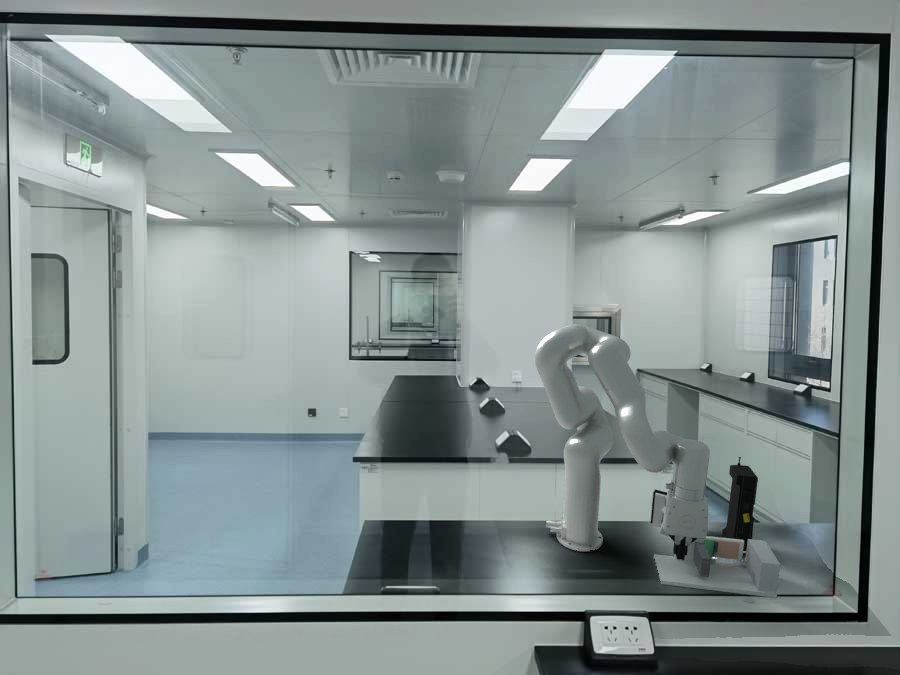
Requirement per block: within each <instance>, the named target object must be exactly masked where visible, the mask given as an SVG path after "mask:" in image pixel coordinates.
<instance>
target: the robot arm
mask: <svg viewBox="0 0 900 675" xmlns="http://www.w3.org/2000/svg"><path fill="white" fill-rule="evenodd" d="M629 346H630V345H628V343H627V342H626V341H625V340H624V339H622V338H621V337H618V336H616V335H613V334H610V333H607V332H604V331H601V330H599V329H596V328H592V327H590V326H587V325H583V324H579V323H574V324H569V325H566V326H563V327H561V328H558V329H556V330H553V331H551V332H550V333H548V334H547V335H546V336H544V338H543V339H541V340H540V342H539V343H538V345H537V348H536V350H535V354H534V363H535V367H536V370H537V372H538V375H539V377H540V379H541V382H542V384H543V387H544V390H545V393H546V395H547V396H546V397H547V399H548V401H549V404H550V405H551V406H550V407H551V408H552V409H551V410H552V411H553V414H554V417H555V419H556V422H557V423H558V424H559V425H560V426H561V427H562V428H563V429H566V430H575V429H577V431H576V432H575V433H573V434H572V435H571V436H570V437H569V439H567V441H566V443H565V445H564V449H563V461H564V491H563V492H564V496H563V508H562V509H563V511H562V513H563V514H562V515H563V516H561V520H557V521H553V520H548V519H547V520H546V522H545V523H546V525H545V528H550V533H556V538H557V541H558V542H559V544H560V545H563V546H564V547H565V548H567V549H569V550H572V551H576V550H577V551H576V552H591V551H590V550H593V551H596V550H598V549H599V548H600V547H602V545H603V543H604V541H603V540H604V538H603V535H602V533H601V532H600V531H599V530H598V528H599V515H600V514H599V513H600V501H601V483H602V482H601V481H602V477H601V476H602V475H601V469H600V468H601V467H600V463H601V461H602V460H603V458H604V457H605V456H606V455H607V454H608V453H609V451H610V450H611V449H612V447H613V445H614V436H613V435H614V434H613V432H612V429H611V426H610V423H609V421H608V419H607V416H606V414H605V411H604V407H603V404H602V403H601V400H600V398H599V396H598V395H597V394H596V393H595V392H594V391H593V390H592V389H591V388H589V387H586V386H583V385H581V386H579V385H578V384H577V381H576V377H575V375H574V373H573V372H572V370H571V369H570V368H569V366H568V364H567V363H568V361H569V360H571V359H573V358H574V357H577V356H581V357H584V358H587V363H588V364H589V367H590V368H591V370H592V372H593V373H594V375H595V377H596V379H597V380H598V382H599V384H600V386H601V387H602V389H603V390H604V392H605V394H606V396H607V397H608V399H609V400H610V403H611V404H612V406H613V409H614V413H615V417H616V421H617V424H618V428H619V431H620V434H621V436H622V439H623V441H624V444H625V445H626V447H627V449H628V450H629V452H630V454H631V455H632V457H633V458H634V460H635V461H636V463H637V464H638V465H639V466H640V468H642V469H643V470H645V471H647V472H650V473H660V472H662V471H663V472H664V470H665V469H667V467H668V466H669V465H670V464H671V463H672V464H673V469H672V470H673V471H672V478H671V480H670V482H668V483H667V482H666V483H665V484H664V487H665V489H666V490H668V491H667V492H668V493H667V496H666V499H665V502H664V506H663V511H662V517H661V523H662V525H661V527H659V532H660V534H661V535H663V536H666V537H669V538H670V540H672V541H673V549H672V550H673V551H672V552H673V555H674V554H676V557H677V560H680V559H682V560H684V559H685V555H686V556H687V551H688V546H690V544H691V543H692V542H694V541H695V540H696V539H698V540H699V539H705V538H706V536H708V535H707V534H708V528H709V502H708V500H709V499H708V498H707V497H706V495H705V492H706V484H707V476H708V471H709V470H708V469H709V464H710V463H709V462H710V457H711V456H710V455H711V453H710V452H711V451H710V448H709V446H708V444H706V443H705V442H702V441H700V440H697V439H691V438H685V437H683V436H679V435H676V434H674V433H671V432H669V431H666V430H661V429H660V430H656V431H653V430H652V428H651V425H650V423H649V421H648V418H647V411H646V402H647V400H646V398H647V397H646V393H645V388H644V387H643V385H642V384H641V383H640V381H639V379H638V378H637V376H636V374H635V373H634V372H633V369H632V368H631V366H630V364H629V360H630V358H631V355H632V354H631V349H630V347H629ZM680 536H683V539H681V540H680ZM595 549H596V550H595Z"/></svg>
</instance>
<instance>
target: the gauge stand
mask: <svg viewBox="0 0 900 675" xmlns="http://www.w3.org/2000/svg"><path fill="white" fill-rule="evenodd" d="M681 539H683V536H680V540H681ZM695 542H700V543H704V545H705V547H706V549H707V552H708V554H709V556H713V549H714V542H718V551H717V553H718V555H719V557H724V558H733V559H742V560H743V555H744V554H743V547H744V540H739V539H730V538H722V537H718V536H709V535H706V538H705V539H699V540H698V539H696V540H695V541H694V542H692V543H691V544H690V546H688V551H687V556H686V555H685V559H684V560H682V559H680V560H677V557H676V554H674V553H673V555H674V556H673V555H664V554H655V553H654V554H653V560H654V559H655V561H654V563H655V562H656V564H655V567H656V566H657V568H656V571H657V570H658V571H657V574H658V573H659V575H658V579H659V580H660V581H661V582H660V584H661V585H664V586H665V585H667V586H676V587H682V588H683V587H684V588H692V589H699V590H707V591H715V592H724V593H726V592H727V593H733V594H740V595H749V596H756V597H757V596H758V597H765V598H775V599H777V598H778V597H777V596H778V593H777V590H778V584H779V577H780V573H781V572H780V571H781V563H780V562H779V560H778V559H777V557H776V555H775V553H774V552H773V550H772V549H771V548H770V546H769V544H768V543H767V542H766V540H761V539H753V538H752V539H748V543H747V550H746V554H745V559H744V560H746V568H737V567H728V566H719V565H710V571H709V577H701V576H700V575H699V573H698V570H697V568H696V565H695V562H694V560H693V558H694V549H695Z"/></svg>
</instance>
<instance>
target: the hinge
mask: <svg viewBox="0 0 900 675" xmlns="http://www.w3.org/2000/svg"><path fill="white" fill-rule="evenodd" d="M667 493H668V491H666V490H664V489H659V488H658V489H655V488H654V490H653V492H652V501H651V502H652V503H651V513H650V524H652V526H654V527H658V528H660V527H661V525H662V523H661V517H662V511H663V506H664V502H665V499H666V496H667Z"/></svg>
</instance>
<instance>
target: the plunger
mask: <svg viewBox="0 0 900 675" xmlns="http://www.w3.org/2000/svg"><path fill="white" fill-rule="evenodd" d="M717 551H718V542H714V549H713V556H709V554H708V552H707V549H706V547H705V545H704V543H700V542H695V549H694V558H693V560H694V562H695V565H696V568H697V570H698V573H699V575H700V576H701V577H709V571H710V565H719V566H728V567H737V568H746V560H745V559H743V558H742V559H733V558H724V557H719V555H718V553H717Z"/></svg>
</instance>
